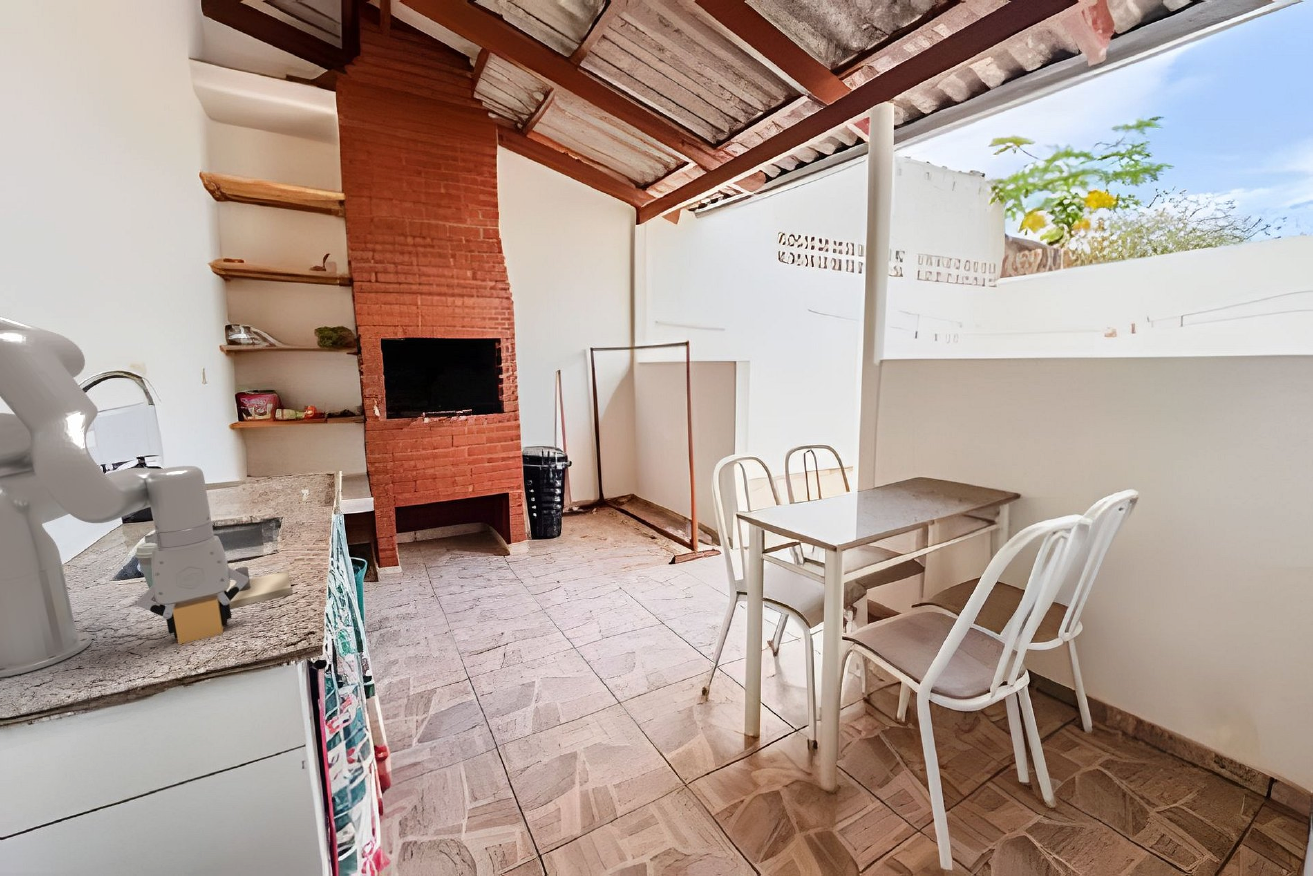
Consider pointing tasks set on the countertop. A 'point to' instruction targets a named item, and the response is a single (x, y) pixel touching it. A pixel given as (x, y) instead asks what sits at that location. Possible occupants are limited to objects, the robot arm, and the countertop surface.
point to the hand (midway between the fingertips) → (201, 628)
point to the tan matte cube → (197, 619)
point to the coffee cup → (146, 561)
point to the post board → (261, 588)
